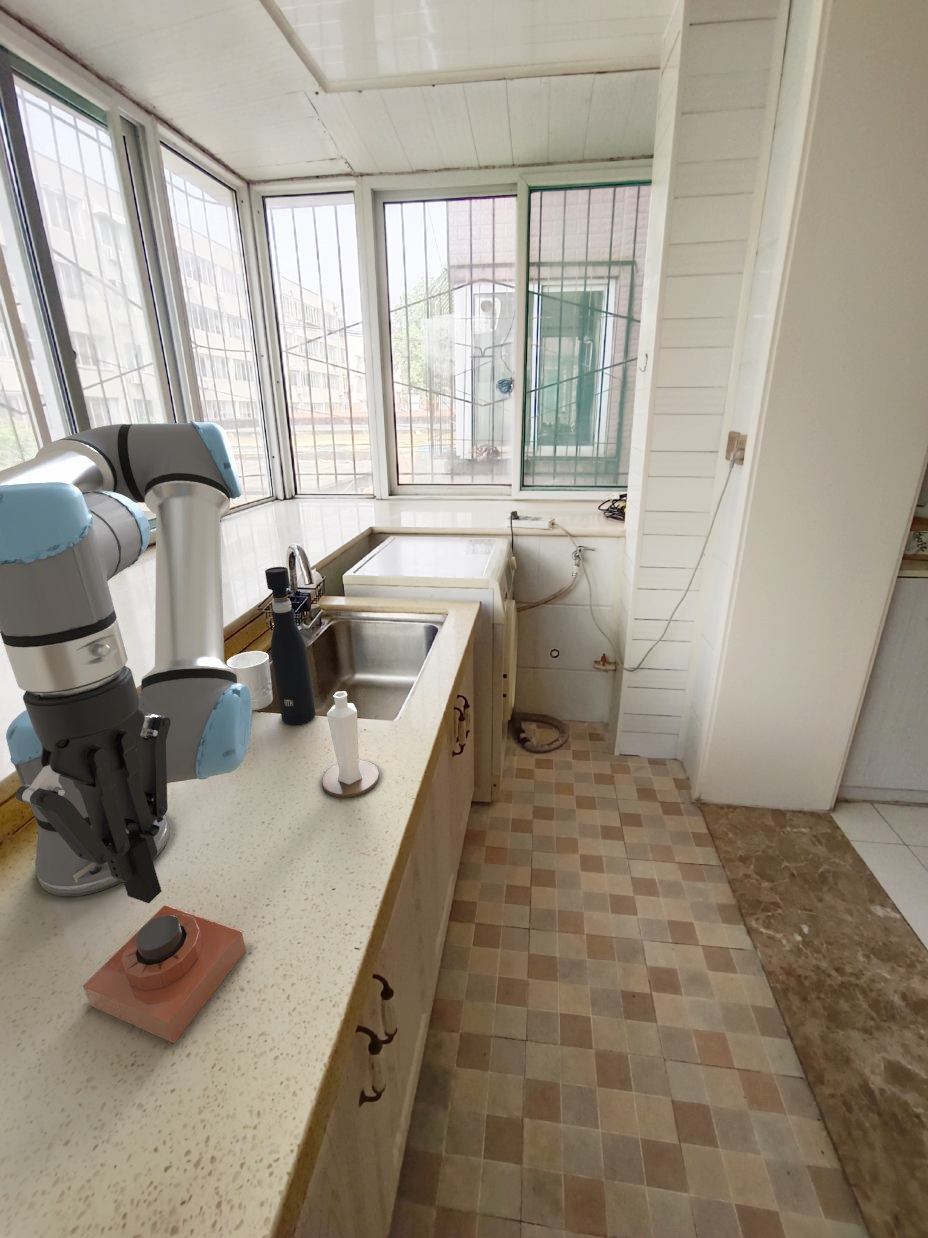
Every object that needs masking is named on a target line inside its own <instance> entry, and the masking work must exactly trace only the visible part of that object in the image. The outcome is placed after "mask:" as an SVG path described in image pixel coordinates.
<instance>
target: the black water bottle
mask: <svg viewBox="0 0 928 1238" xmlns="http://www.w3.org/2000/svg"><path fill="white" fill-rule="evenodd" d="M264 574H265V580H266V586H267V589H268V590H270V591H271V593H272V599H273V600H272V601H271V602H272V603H271V606H272V611H271V615H272V621H273V622H272V623H273V629H272V634H271V639H270V640H271V642H270V656H271V663H272V668H273V674H274V675H273V676H274V680H275V686H276V693H277V699H278V704H279V705H278V706H279V710H280V716H281V717H280V718H281V721H282V722H283V723H284V724H286V725H288V726H299V725H304V724H307V723H309V722H310V721H311V722H312V720H313V719H314V718H315V717H316V707H315V700H314V693H313V686H312V680H311V672H310V664H309V659H308V658H309V657H308V651H307V645H306V642H305V638H304V637H303V634H302V632H301V630H300V628H299V627H298V624H297V623H296V620H295V618H296V617H295V612H294V611H295V610H294V608H292V601H291V600H290V598H288V597H289V594H288V590H287V589H288V588H290V587H291V582H290V576H289V569H288V567H285V566H274V567H269V568H266V569H265V570H264Z"/></svg>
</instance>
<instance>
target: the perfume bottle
mask: <svg viewBox="0 0 928 1238" xmlns="http://www.w3.org/2000/svg"><path fill="white" fill-rule="evenodd" d="M332 698H333V700H334V704H333V705H332V707H330V708H329V710H328V711H327V713H326V718H327V723H328V727H329V731H330V735H331V741H332V745H333V750H334V753H335V758H336V763H337V764H338V768H339V775H338V780H339V781H341V782H344V783H346V784H351V783H353V782H355V781H357V780H359V779H361V778H362V775H361V772H360V770H359V760H360V757H359V726H358V710H357V707H355V704H354V703H352V702H348V693H347V691H346V690H344V691H336V692H335V693H334V694H333V695H332Z"/></svg>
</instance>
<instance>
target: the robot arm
mask: <svg viewBox="0 0 928 1238" xmlns="http://www.w3.org/2000/svg"><path fill="white" fill-rule="evenodd" d="M241 496H242V484H241V481H240V475H239V472H238V467H237V464H236V459H235V456H234V453H233V450H232V446H231V443H230V440H229V438H228V435H227V433H226V431H225V429H224V428H223V427H222V426H221V425H220V424H218V423H215V422H205V421H204V422H202V421H201V422H200V421H199V422H198V421H197V422H196V421H195V420H190V422H177V423H175V422H174V423H173V422H172V423H169V422H167V423H163V422H162V423H115V424H108V425H107V424H106V425H103V426H98V427H94V428H90V429H87V430H84V431H80V432H77V433H74V434H72V435H68V436H65V437H63V438H60V439H57V440H53V441H51V442H48V443H47V444H45V445H43V446H42V447H41V448H40V449H39V450H38V451H37V453H36V454H35V456H34V457H33V458H31V459H28V460H26V461H23V462H20V463H18V464H15V465H12V466H10V467H7V468H5V469H2V470H0V637H1V640H2V644H3V647H4V649H5V652H6V655H7V658H8V660H9V664H10V667H11V669H12V672H13V675H14V678H15V681H16V684H17V686H18V688H19V689H20V690H22V691H24V693H23V694H22V695H23V696H22V700H23V704H24V706H25V710H23V711H22V712H21V713H19V714H18V715H17V716H16V717H14V719H13V720H12V721H11V722H10V724H9V725H8V728H7V730H6V733H5V739H6V743H7V747H8V750H9V755H10V762H11V764H12V765H13V766H14V768H15V770H16V774H17V776H18V778H19V781H20V784H21V786H19V787H18V788H17V789H16V791H15V793H14V794H15V795H14V796H15V799H16V800H17V801H20V802H22V803H25V804H28V805H30V808H31V811H32V813H33V815H34V819H35V820H36V823H37V827H38V831H37V839H36V841H37V842H36V857H35V866H34V867H35V873H36V876H37V879H38V881H39V884H40V886H41V888H42V889H43V890H44V891H46V892H47V893H49V894H51V895H54V896H58V897H80V896H86V895H90V894H94V893H98V892H101V891H104V890H106V889H110V888H111V887H114V886H116V885H118V884H121V883H122V882H123V885H124V888H125V892H126V894H127V897H129V898H132V899H135V900H137V901H141V902H144V903H146V904H150V903H151V902H152V901H153V900H155V898H156V897H158V895H159V894H160V893H162V887H161V885H160V881H159V877H158V874H157V871H156V867H155V864H154V860H155V859H156V858H157V857H158V856H159V855H160V853H161V852H162V851H163V849H164V848H165V847H166V844H167V843H168V840H169V838H170V833H171V832H170V831H171V830H170V825H169V820H168V817H167V815H166V813H167V812H168V784H171V783H178V782H186V781H192V780H206V779H208V778H210V777H216V776H220V775H224V774H229V773H232V772H234V771H236V770H237V769H238V768H239V767H240V766H241V765H242V763H243V762H244V759H245V757H246V756H247V752H248V750H249V749H248V748H249V744H250V739H251V731H252V722H253V721H252V718H253V711H252V709H251V696H250V692H249V689H248V687H247V686H246V685H244V684H241V683H237V674H236V672H234V671H233V670H232V669H231V668H229V667H228V666H227V663H226V662H225V637H224V636H225V633H224V632H225V631H224V603H223V601H224V600H223V569H222V567H223V566H222V539H221V538H222V536H221V535H222V534H221V533H222V532H221V519H223V518H224V517H225V516H227V515H228V514H229V512H230V509H231V499H232V500H235V499H237V498H240V497H241ZM137 503H138V504H139V503H140V504H145V506H146V508H147V509H148V510H149V511H150V512H151V513H152V514H154V515H155V517H156V520H155V526H156V527H155V608H154V609H155V611H154V612H155V613H154V615H155V617H154V619H155V620H154V632H155V633H154V666H153V668H151V670H149V671H148V672H147V673H146V674H144V676H142V677H141V682H140V684H141V685H140V691H141V692H140V695H139V694H138V690H137V687H136V681H135V680H134V674H133V671H132V669H131V668H130V667H128V666H127V665H126V664H127V662H128V660H129V658H128V655H127V650H126V648H125V644H124V639H123V636H122V632H121V628H120V625H119V621H118V617H117V613H116V610H115V606H114V602H113V598H112V595H111V590H110V586H109V581H110V580H111V579H112V578H113V577H115V576H117V575H118V574H121V572H123V571H124V570H126V569H127V568H130V567H131V566H133V565H135V564H136V562H138V561H139V559H140V557H141V556H142V554H143V553H144V552H145V551H146V550H147V548H148V546H149V543H150V540H151V525H150V522H149V519H148V517H147V515H146V513H145V512H144V510H143V509H142V508H141V507H140V506H139V505H138V504H137Z"/></svg>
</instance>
